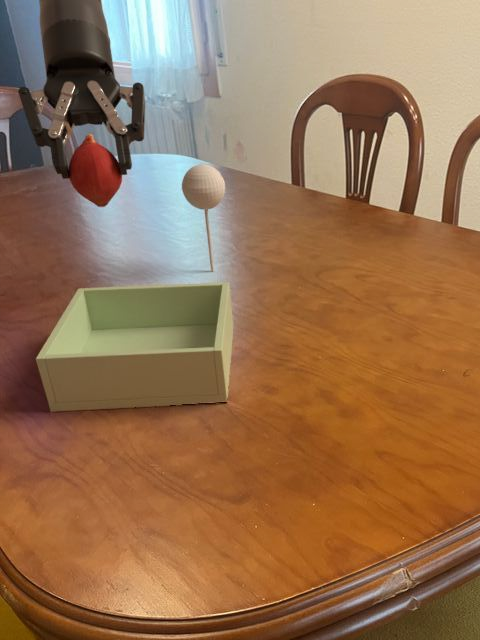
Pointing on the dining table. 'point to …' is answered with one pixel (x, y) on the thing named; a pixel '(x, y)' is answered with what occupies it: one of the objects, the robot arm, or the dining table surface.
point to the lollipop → (204, 193)
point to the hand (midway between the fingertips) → (94, 172)
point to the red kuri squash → (95, 172)
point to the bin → (140, 348)
